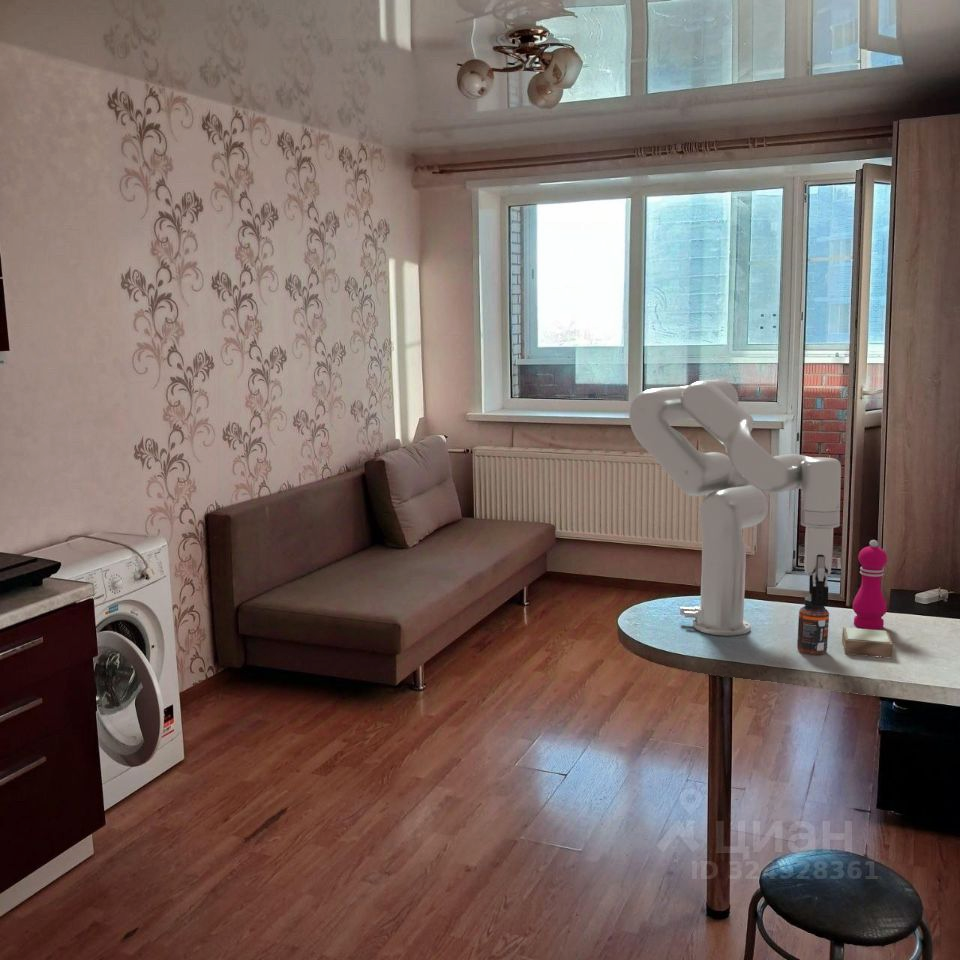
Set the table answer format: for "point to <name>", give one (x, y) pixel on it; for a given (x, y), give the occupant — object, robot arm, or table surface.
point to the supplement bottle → (812, 629)
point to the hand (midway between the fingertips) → (818, 599)
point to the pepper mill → (870, 589)
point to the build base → (867, 642)
